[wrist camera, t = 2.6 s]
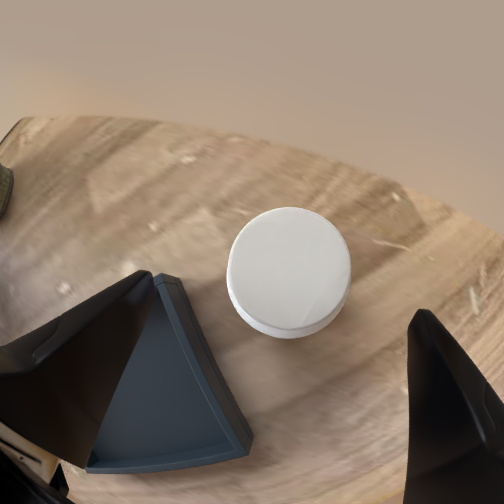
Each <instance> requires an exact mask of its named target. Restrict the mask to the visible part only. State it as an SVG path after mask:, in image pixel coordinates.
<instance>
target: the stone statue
mask: <svg viewBox="0 0 504 504" xmlns="http://www.w3.org/2000/svg"><path fill="white" fill-rule="evenodd" d="M12 186H13V172H12V171H11V170H10V169H9V168H6V167H4V166H2V165H1V164H0V219H1V217H2V215H3V213H4V211H5V209H6V206H7V204H8V201H9V198H10V195H11V190H12Z"/></svg>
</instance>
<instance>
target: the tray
mask: <svg viewBox="0 0 504 504" xmlns="http://www.w3.org/2000/svg"><path fill="white" fill-rule="evenodd" d="M153 279H154V283H155V287H156V296H155V299H154V301H153V304H152V307H151V309H150V312H149V315H148V318H147V320H146V323H145V326H144V328H143V331H142V333H141V335H140V337H139V340H138V342H137V344H136V346H135V348H134V350H133V352H132V354H131V357H130V359H129V361H128V363H127V365H126V367H125V370H124V372H123V374H122V376H121V379H120V381H119V383H118V386H117V388H116V390H115V392H114V395H113V397H112V400H111V402H110V404H109V407H108V409H107V412H106V414H105V417H104V419H103V422H102V424H101V427H100V430H99V432H98V435H97V437H96V440H95V443H94V445H93V448H92V451H91V454H90V456H89V459H88V462H87V465H86V467H85V471H86V472H87V473H91V474H134V473H150V472H161V471H170V470H178V469H185V468H191V467H197V466H203V465H208V464H213V463H218V462H223V461H227V460H231V459H235V458H239V457H243V456H247V455H248V454H249V451H250V448H251V445H252V441H253V438H254V435H253V433H252V431H251V429H250V428H249V426H248V424H247V422H246V420H245V419H244V417H243V415H242V413H241V411H240V409H239V407H238V405H237V404H236V402H235V400H234V398H233V396H232V394H231V392H230V390H229V388H228V386H227V384H226V382H225V380H224V378H223V376H222V374H221V372H220V370H219V368H218V366H217V364H216V362H215V359H214V357H213V355H212V353H211V351H210V349H209V347H208V344H207V342H206V340H205V338H204V336H203V333H202V331H201V329H200V327H199V324H198V322H197V320H196V317H195V315H194V313H193V310H192V308H191V306H190V303H189V301H188V298H187V296H186V294H185V291H184V289H183V286H182V284H181V281H180V279H179V278H177V277H173V276H170V275H167V274H163V273H161V274H159V275H157V276H155V277H153Z"/></svg>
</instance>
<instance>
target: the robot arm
mask: <svg viewBox="0 0 504 504" xmlns="http://www.w3.org/2000/svg"><path fill="white" fill-rule="evenodd" d="M155 296H156V287H155V283H154V279H153V276H152V273H151V272H150V271H145V270H139V271H137V272H135V273H133V274H131V275H130V276H128V277H126V278H124V279H122V280H121V281H119V282H117V283H115V284H113V285H112V286H110V287H108V288H106V289H105V290H103V291H101V292H99V293H97V294H96V295H94V296H92V297H91V298H89V299H87V300H85V301H84V302H82V303H80V304H78V305H77V306H75V307H73V308H72V309H70V310H68V311H67V312H65V313H63V314H62V315H61V316H58V317H57V318H55V319H53V320H52V321H50V322H48V323H46V324H45V325H43V326H41V327H39V328H38V329H36V330H34V331H32V332H30V333H28V334H26V335H24V336H22V337H20V338H18V339H16V340H14V341H13V342H11V343H9V344H7V345H4V346H0V504H75V503H73V502H72V501H71V500H69V499H68V498H66V497H67V494H68V492H69V487H68V484H67V482H66V479H65V476H64V473H63V470H62V466H61V464H60V463H59V462H60V460H61V459H62V460H64V461H67V462H69V463H71V464H73V465H75V466H77V467H80V468H82V469H85V467H86V465H87V462H88V459H89V456H90V454H91V451H92V448H93V445H94V443H95V440H96V437H97V435H98V432H99V430H100V427H101V424H102V422H103V419H104V417H105V414H106V412H107V409H108V407H109V404H110V402H111V400H112V397H113V395H114V392H115V390H116V388H117V386H118V383H119V381H120V379H121V376H122V374H123V372H124V370H125V367H126V365H127V363H128V361H129V359H130V357H131V354H132V352H133V350H134V348H135V346H136V344H137V342H138V340H139V337H140V335H141V333H142V331H143V328H144V326H145V323H146V320H147V318H148V315H149V312H150V309H151V307H152V304H153V301H154V299H155ZM407 336H408V359H407V374H408V393H409V447H408V463H407V475H406V483H405V491H404V499H403V504H504V403H503V402H502V401H501V399H500V398H499V397H498V395H497V394H496V392H495V391H494V390H493V388H492V387H491V385H490V384H489V383H488V382H487V380H486V379H485V377H484V376H483V374H482V373H481V372H480V370H479V369H478V368H477V366H476V365H475V364H474V363H473V361H472V360H471V359H470V357H469V356H468V355H467V354H466V352H465V351H464V350H463V348H462V347H461V346H460V345H459V344H458V342H457V341H456V340H455V339H454V337H453V336H452V335H451V334H450V333H449V331H448V330H447V329H446V328H445V327H444V326H443V324H442V323H441V322H440V321H439V320H438V319H437V318H436V316H435V315H434V314H433V313H432V312H431V311H430V310H428V309H418V310H417V312H416V313H415V315H414V317H413V319H412V320H411V322H410V324H409V326H408V331H407Z"/></svg>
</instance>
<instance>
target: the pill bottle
mask: <svg viewBox="0 0 504 504" xmlns="http://www.w3.org/2000/svg"><path fill="white" fill-rule="evenodd" d="M350 283H351V259H350V254H349V251H348V248H347V245H346V243H345V241H344V238H343V237H342V235H341V234H340V232H339V231H338V230H337V229H336V227H335V226H334V225H333V224H332V223H330V222H329V221H328V220H327V219H325V218H324V217H322V216H321V215H319V214H317V213H315V212H313V211H310V210H306V209H302V208H296V207H283V208H277V209H273V210H270V211H267V212H265V213H262V214H260V215H259V216H257V217H255V218H254V219H253V220H251V221H250V222H249V223H248V224H247V225H246V226H245V227H244V228H243V229H242V230H241V232H240V233H239V234H238V236H237V237H236V239H235V241H234V243H233V246H232V248H231V251H230V255H229V261H228V267H227V287H228V292H229V295H230V298H231V301H232V303H233V305H234V307H235V309H236V310H237V312H238V313H239V315H240V316H241V317H242V318H243V319H244V320H245V321H246V322H247V323H248V324H249V325H251V326H252V327H253V328H255V329H256V330H258V331H260V332H262V333H265V334H267V335H270V336H273V337H277V338H286V339H293V338H300V337H305V336H308V335H311V334H313V333H315V332H318V331H319V330H321V329H322V328H324V327H325V326H327V325H328V324H329V323H330V322H331V321H332V320H333V319H334V318H335V317H336V316H337V315H338V313H339V312H340V310H341V309H342V307H343V306H344V304H345V301H346V299H347V297H348V293H349V289H350Z"/></svg>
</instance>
